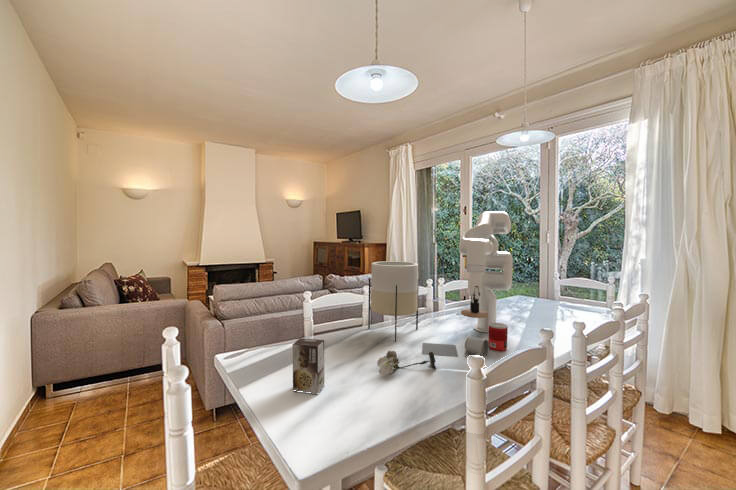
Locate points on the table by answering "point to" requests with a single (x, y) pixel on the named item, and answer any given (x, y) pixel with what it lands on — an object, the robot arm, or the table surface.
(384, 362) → the artificial flower
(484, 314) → the lid
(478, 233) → the robot arm
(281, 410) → the table surface
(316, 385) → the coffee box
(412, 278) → the planter
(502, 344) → the canned food
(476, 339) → the ceramic mug
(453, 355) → the mat
